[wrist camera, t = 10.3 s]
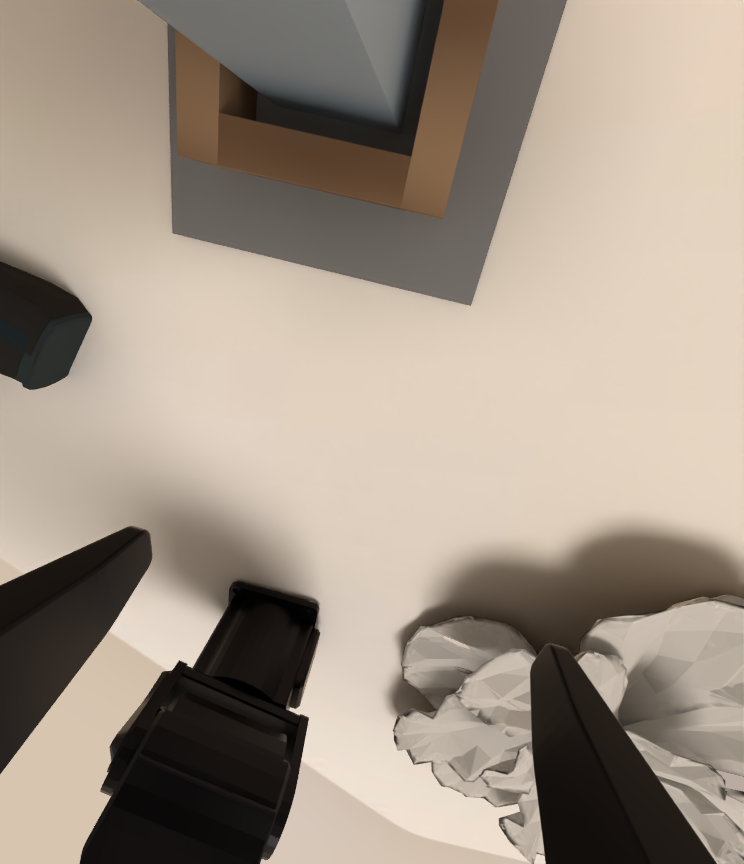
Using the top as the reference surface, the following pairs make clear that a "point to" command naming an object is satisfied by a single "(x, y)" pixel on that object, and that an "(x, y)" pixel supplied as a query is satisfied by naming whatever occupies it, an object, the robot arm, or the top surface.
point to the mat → (371, 223)
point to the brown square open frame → (329, 158)
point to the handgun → (38, 328)
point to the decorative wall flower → (621, 690)
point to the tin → (312, 51)
